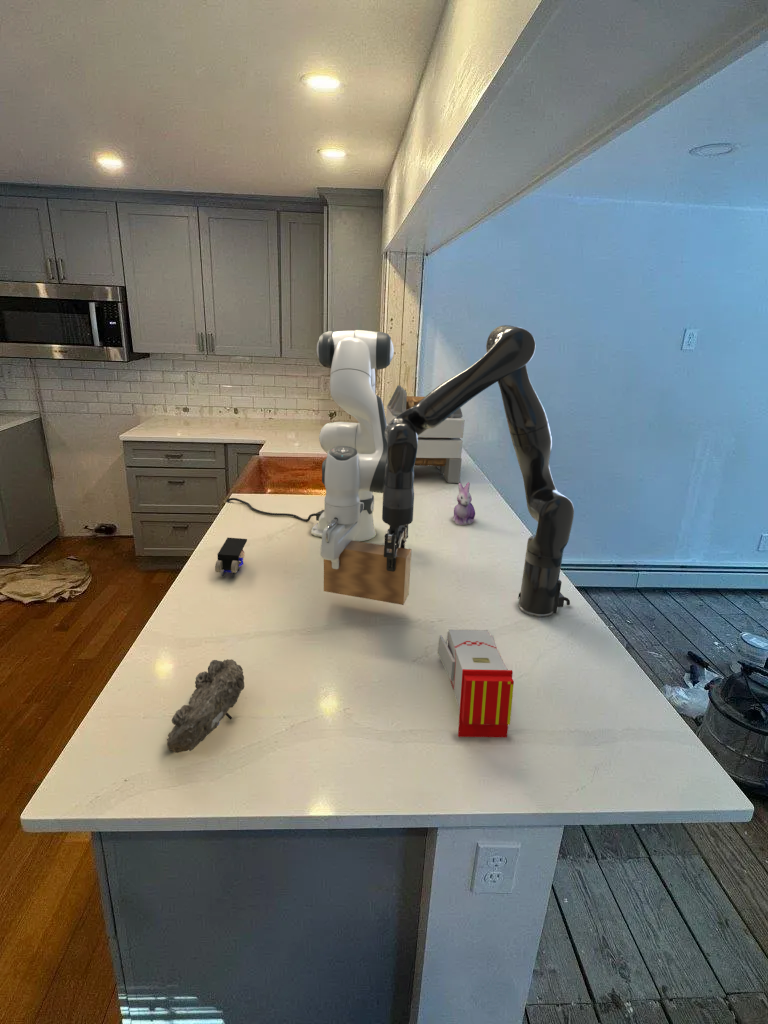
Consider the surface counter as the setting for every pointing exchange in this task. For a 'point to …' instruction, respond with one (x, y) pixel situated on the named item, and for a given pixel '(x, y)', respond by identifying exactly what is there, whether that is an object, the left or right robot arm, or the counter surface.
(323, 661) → the counter surface
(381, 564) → the box
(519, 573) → the counter surface
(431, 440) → the transformer
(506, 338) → the right robot arm
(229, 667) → the fossil
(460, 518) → the figurine
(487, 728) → the toy
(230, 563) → the figurine character
